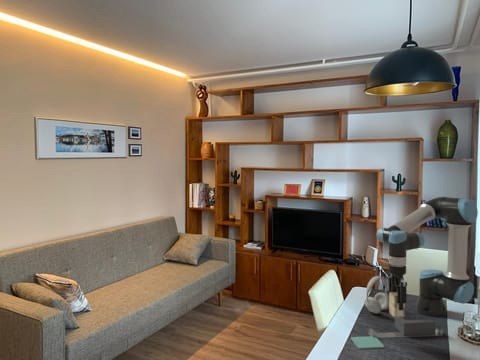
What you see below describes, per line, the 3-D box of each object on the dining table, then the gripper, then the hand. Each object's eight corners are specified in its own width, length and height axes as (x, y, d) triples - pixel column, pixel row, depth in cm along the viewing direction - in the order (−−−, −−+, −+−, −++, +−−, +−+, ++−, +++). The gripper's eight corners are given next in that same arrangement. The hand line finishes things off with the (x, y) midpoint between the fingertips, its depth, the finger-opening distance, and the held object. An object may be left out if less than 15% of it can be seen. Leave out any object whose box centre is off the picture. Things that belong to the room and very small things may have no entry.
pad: (375, 337, 180) (375, 336, 180) (384, 347, 171) (384, 346, 171) (350, 338, 180) (350, 337, 180) (358, 349, 170) (358, 347, 170)
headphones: (374, 318, 201) (374, 282, 200) (359, 313, 209) (360, 277, 207) (393, 310, 212) (394, 275, 211) (379, 305, 220) (380, 271, 218)
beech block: (399, 312, 179) (399, 291, 178) (404, 316, 174) (405, 295, 173) (389, 312, 178) (389, 292, 178) (394, 317, 173) (394, 296, 173)
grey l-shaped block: (425, 325, 192) (425, 314, 191) (435, 334, 183) (435, 322, 182) (394, 327, 191) (394, 315, 190) (403, 335, 182) (404, 323, 181)
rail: (437, 331, 187) (437, 326, 187) (443, 335, 182) (443, 330, 182) (368, 333, 184) (368, 328, 184) (372, 338, 180) (372, 333, 180)
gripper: (380, 259, 183) (380, 306, 185) (399, 270, 165) (398, 322, 167) (395, 259, 184) (395, 305, 185) (415, 270, 166) (415, 321, 167)
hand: (396, 313), depth 176 cm, fingers closed on beech block, 5 cm apart
